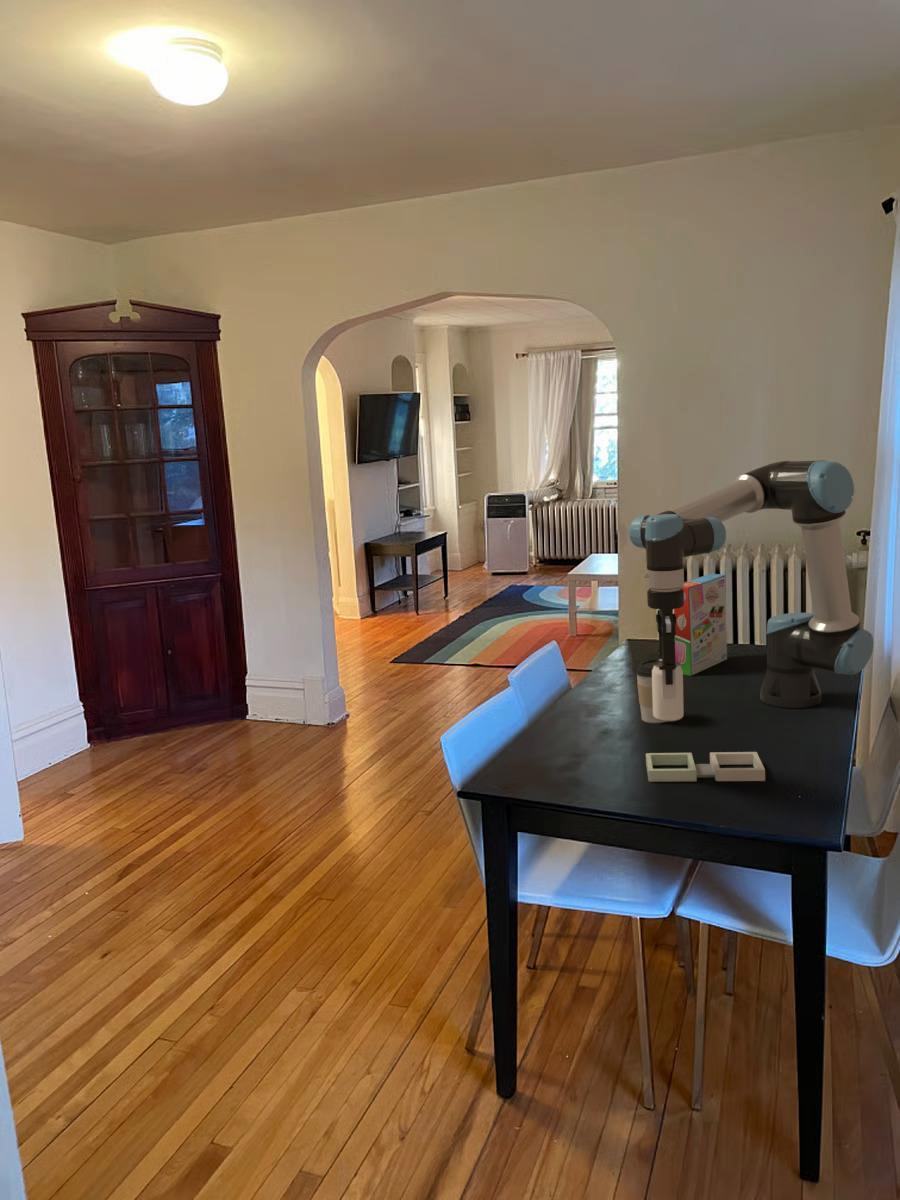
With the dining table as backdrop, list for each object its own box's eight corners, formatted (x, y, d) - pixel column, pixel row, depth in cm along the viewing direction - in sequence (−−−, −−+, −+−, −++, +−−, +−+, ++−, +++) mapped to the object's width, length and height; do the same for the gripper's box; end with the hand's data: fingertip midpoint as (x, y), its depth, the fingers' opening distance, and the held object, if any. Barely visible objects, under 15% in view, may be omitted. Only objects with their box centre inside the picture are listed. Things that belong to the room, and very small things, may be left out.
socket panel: (756, 762, 195) (756, 751, 194) (765, 780, 185) (765, 769, 184) (646, 763, 199) (645, 753, 198) (648, 781, 189) (648, 770, 188)
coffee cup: (674, 724, 222) (672, 667, 219) (637, 724, 224) (635, 668, 221) (672, 712, 230) (670, 657, 227) (637, 712, 232) (635, 658, 229)
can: (665, 723, 186) (663, 669, 184) (646, 715, 192) (645, 662, 190) (689, 718, 189) (688, 664, 186) (671, 710, 194) (669, 658, 192)
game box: (712, 657, 277) (710, 573, 272) (728, 660, 273) (726, 574, 268) (675, 673, 264) (672, 585, 258) (691, 676, 260) (688, 586, 254)
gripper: (644, 580, 195) (647, 680, 199) (649, 598, 176) (652, 707, 181) (679, 579, 193) (681, 679, 198) (688, 596, 175) (690, 707, 179)
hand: (667, 692), depth 189 cm, fingers closed on can, 6 cm apart
